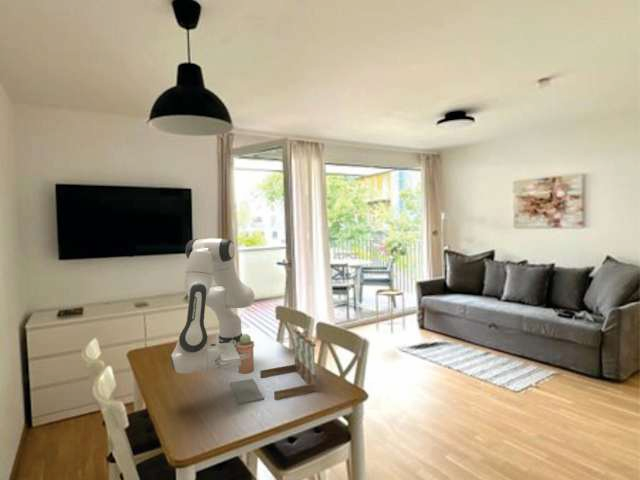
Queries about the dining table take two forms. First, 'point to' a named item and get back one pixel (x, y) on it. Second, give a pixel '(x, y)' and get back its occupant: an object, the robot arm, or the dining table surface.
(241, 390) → the potting mat
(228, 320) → the robot arm
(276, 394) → the brown wooden frame
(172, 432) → the dining table surface
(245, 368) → the seedling pot
